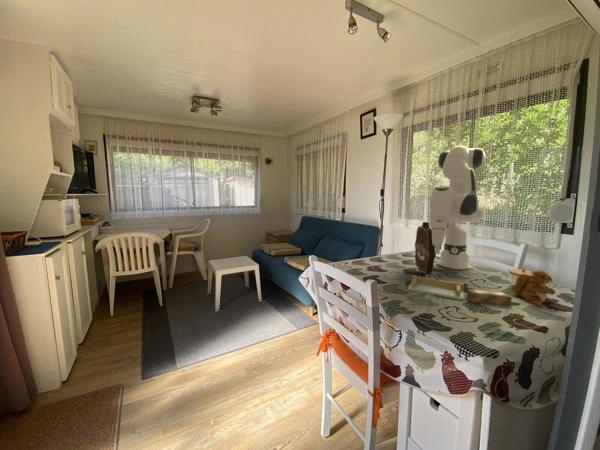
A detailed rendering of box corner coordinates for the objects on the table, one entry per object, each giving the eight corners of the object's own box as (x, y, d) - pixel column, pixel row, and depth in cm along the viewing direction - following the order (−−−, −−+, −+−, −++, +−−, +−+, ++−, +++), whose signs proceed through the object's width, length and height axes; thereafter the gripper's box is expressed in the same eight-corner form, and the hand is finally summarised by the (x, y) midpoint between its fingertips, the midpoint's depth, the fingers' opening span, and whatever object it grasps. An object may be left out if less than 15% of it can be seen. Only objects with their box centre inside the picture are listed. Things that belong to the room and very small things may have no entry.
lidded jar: (528, 293, 115) (530, 273, 113) (502, 285, 124) (504, 267, 123) (542, 289, 118) (544, 270, 117) (515, 282, 128) (517, 264, 127)
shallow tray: (411, 282, 127) (412, 273, 127) (463, 291, 116) (464, 281, 115) (408, 289, 118) (408, 279, 118) (463, 300, 106) (464, 289, 106)
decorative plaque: (434, 285, 124) (438, 225, 120) (427, 285, 125) (431, 225, 121) (418, 268, 153) (421, 219, 149) (413, 267, 154) (415, 219, 150)
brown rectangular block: (470, 302, 105) (471, 292, 105) (466, 297, 110) (467, 288, 110) (510, 306, 101) (511, 296, 101) (504, 301, 106) (505, 292, 106)
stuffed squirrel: (540, 307, 100) (544, 275, 98) (504, 293, 114) (507, 265, 112) (558, 304, 102) (563, 273, 101) (521, 291, 116) (524, 264, 114)
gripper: (434, 219, 125) (432, 246, 127) (430, 224, 108) (428, 255, 110) (449, 220, 121) (447, 247, 123) (447, 225, 104) (444, 257, 106)
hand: (438, 251), depth 116 cm, fingers open, 8 cm apart
